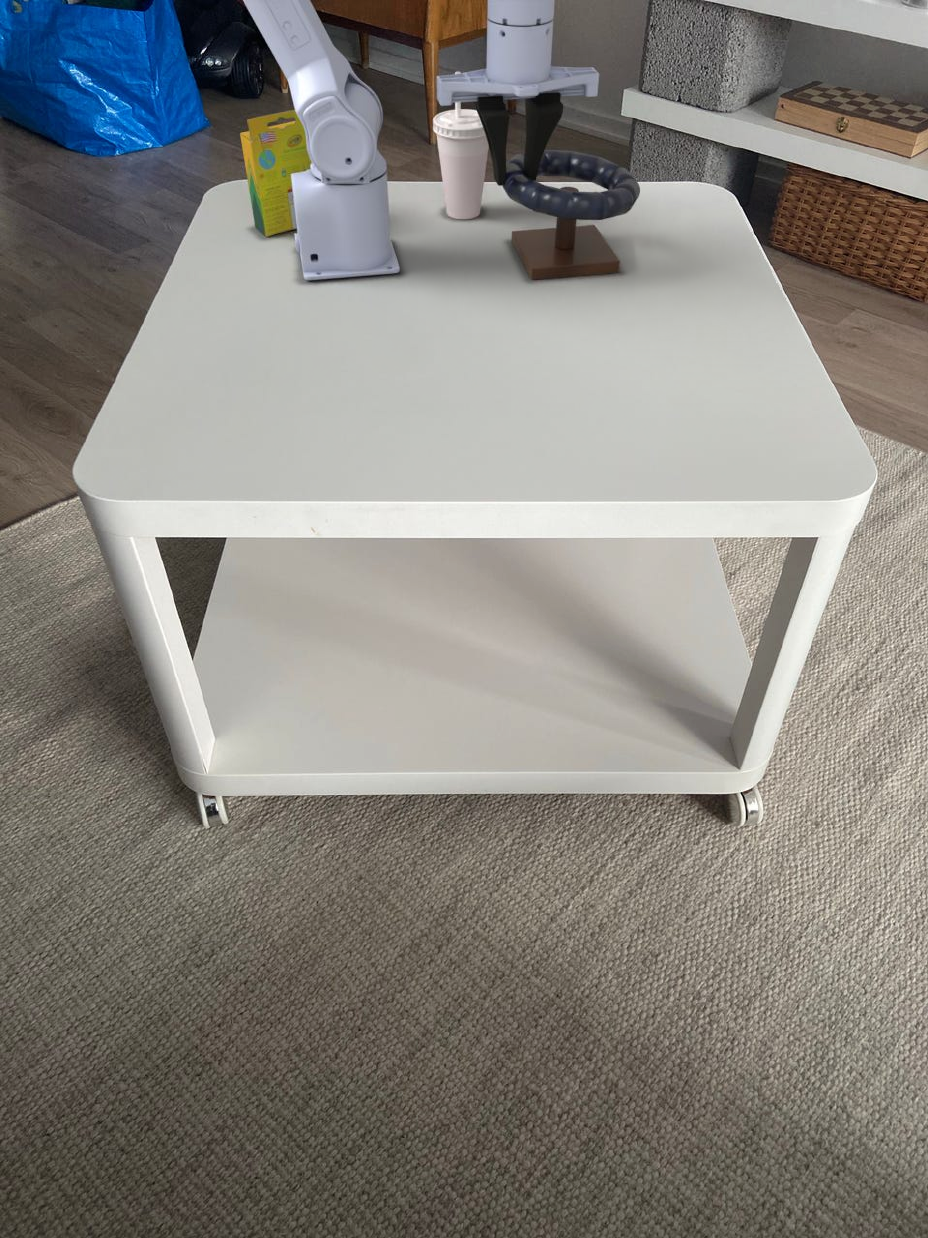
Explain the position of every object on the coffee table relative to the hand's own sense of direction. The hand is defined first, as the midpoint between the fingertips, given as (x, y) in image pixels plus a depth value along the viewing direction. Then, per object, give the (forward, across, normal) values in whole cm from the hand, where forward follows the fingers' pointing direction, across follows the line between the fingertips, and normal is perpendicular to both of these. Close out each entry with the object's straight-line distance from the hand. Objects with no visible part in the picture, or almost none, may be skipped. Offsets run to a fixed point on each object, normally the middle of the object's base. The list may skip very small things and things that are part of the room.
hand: (514, 180), depth 93 cm
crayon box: (+8, -22, +13) cm, 26 cm away
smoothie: (+8, -2, +13) cm, 16 cm away
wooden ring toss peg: (+8, +6, 0) cm, 10 cm away
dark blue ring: (+1, +6, 0) cm, 6 cm away
